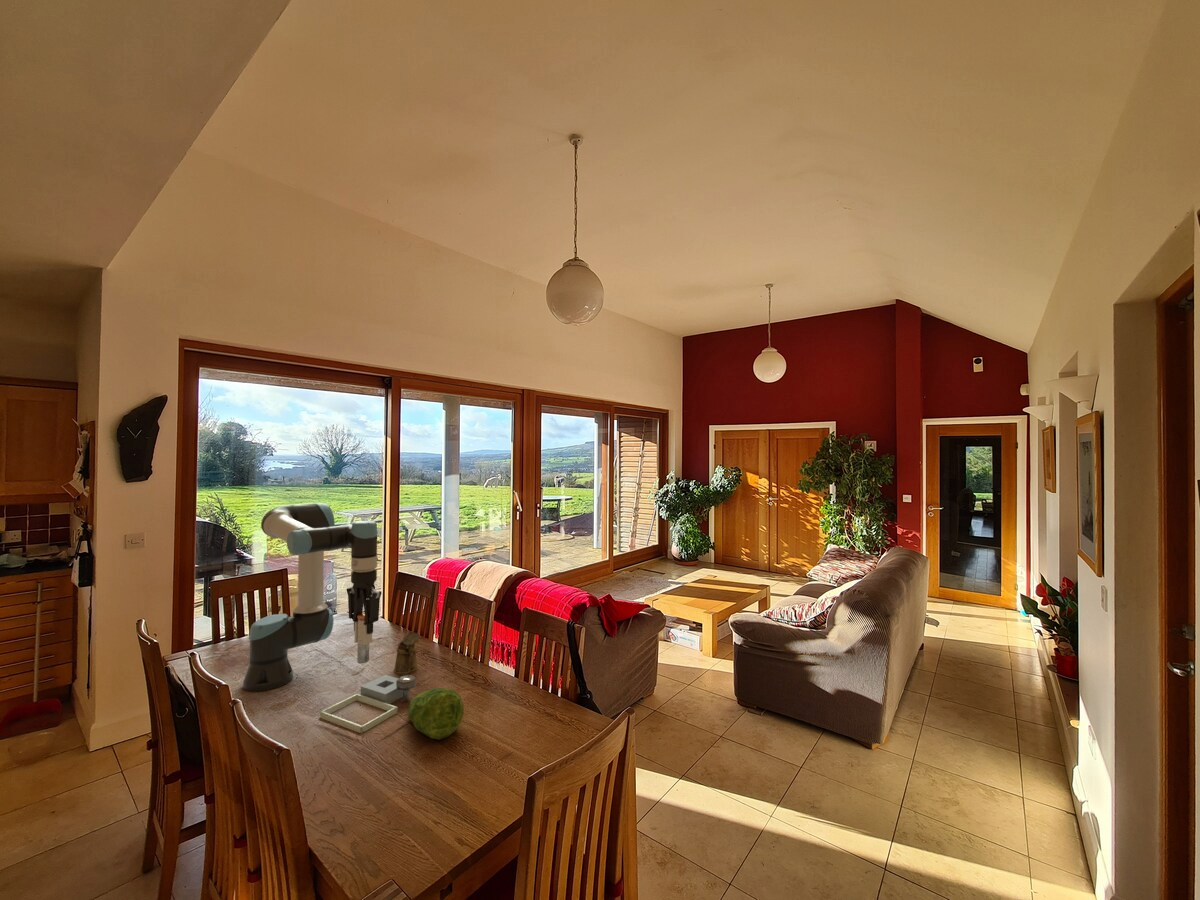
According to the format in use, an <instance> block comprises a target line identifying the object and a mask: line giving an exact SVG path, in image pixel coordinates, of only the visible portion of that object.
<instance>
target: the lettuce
mask: <svg viewBox="0 0 1200 900" xmlns="http://www.w3.org/2000/svg"><path fill="white" fill-rule="evenodd" d="M464 707H465V706H464V702H463V700H462V696H461V695H460V694H459V693H457V692H456V691H455V690H454V689H451V688H443V687H437V688H435V687H434V688H431V689H428V690H424V691H421V692H420V693H419V694H417V695H416V696H415V697H414V698H412V700H411V701H410V703H409V706H408V709H407V712H408V717H409V720H410V721H411V723H412V725H413V726H414V728H415V729H416V730H417V731H418V732H421V734H424V735H426V736H427V737H429V738H430V739H432V740H433V739H435V740H442V739H446V738H449V736H451V735H452V734H453V733H454V732H456V730H457V729H458V727H459V726H460V724H461V723H462V719H463V716H464Z"/></svg>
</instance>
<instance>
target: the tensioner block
mask: <svg viewBox="0 0 1200 900" xmlns="http://www.w3.org/2000/svg"><path fill="white" fill-rule="evenodd" d="M398 679H399V678H398V677H394V676H392V675H391V676H390V675H388V674H384V675H382V676H379V677H378V678H375V679H373V680H372V681H369V682H366V683H365V684H362V685H360V695H363V696H366V697H369V698H372V699H375V700H378V701H381V702H384V703H387V704H390V705H392V703H393V704H394V702H397V700H399V699H402V698H403V690H399V689H397V688H396V681H397V680H398Z"/></svg>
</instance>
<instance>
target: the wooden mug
mask: <svg viewBox="0 0 1200 900" xmlns="http://www.w3.org/2000/svg"><path fill="white" fill-rule="evenodd" d="M419 639H420V634H419V632H413V631H412V632H410V633H409V634H407V635H406V636H404V637H403V640H402V641H399V643H398V645H397V647H396V658H395V663H394V668H393V673H394V674H396V675H400V676H401V675H402V676H406V675H411V674H413V673H415V672H417V671H418V670H419V664H418V660H417V650H418V649H417V645H416V643H417V642H418V641H419Z"/></svg>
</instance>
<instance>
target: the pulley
mask: <svg viewBox="0 0 1200 900" xmlns="http://www.w3.org/2000/svg"><path fill="white" fill-rule="evenodd" d="M417 680H418V678H417V677H416V676H414V675H411V674H405V675H402V676H400V677H399V678H398V680H397V681H396V688H397V689H399V690H403V697H402V698H403V699H402V701H403V703H407V702H409V701H410V697H411V695H410V694H411V693H410V692H411V690H412V689H413V688H415V687H416V686H417V682H418V681H417Z"/></svg>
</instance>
